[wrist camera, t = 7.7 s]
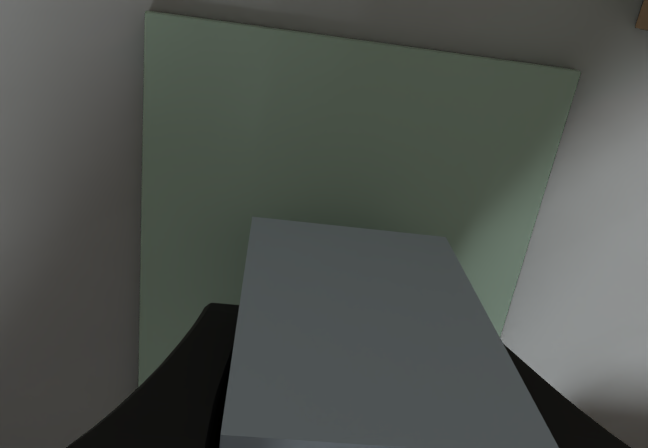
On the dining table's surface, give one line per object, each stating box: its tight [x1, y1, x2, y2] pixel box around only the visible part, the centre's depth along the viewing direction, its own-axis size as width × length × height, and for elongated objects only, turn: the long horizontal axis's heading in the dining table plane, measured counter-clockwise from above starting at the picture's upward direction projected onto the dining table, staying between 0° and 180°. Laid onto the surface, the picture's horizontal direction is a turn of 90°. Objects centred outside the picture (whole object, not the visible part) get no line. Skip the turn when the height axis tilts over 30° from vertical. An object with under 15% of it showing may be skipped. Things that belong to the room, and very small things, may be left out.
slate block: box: [219, 217, 559, 448], centre depth 10 cm, size 4×4×6 cm
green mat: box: [138, 11, 581, 387], centre depth 15 cm, size 9×11×1 cm
